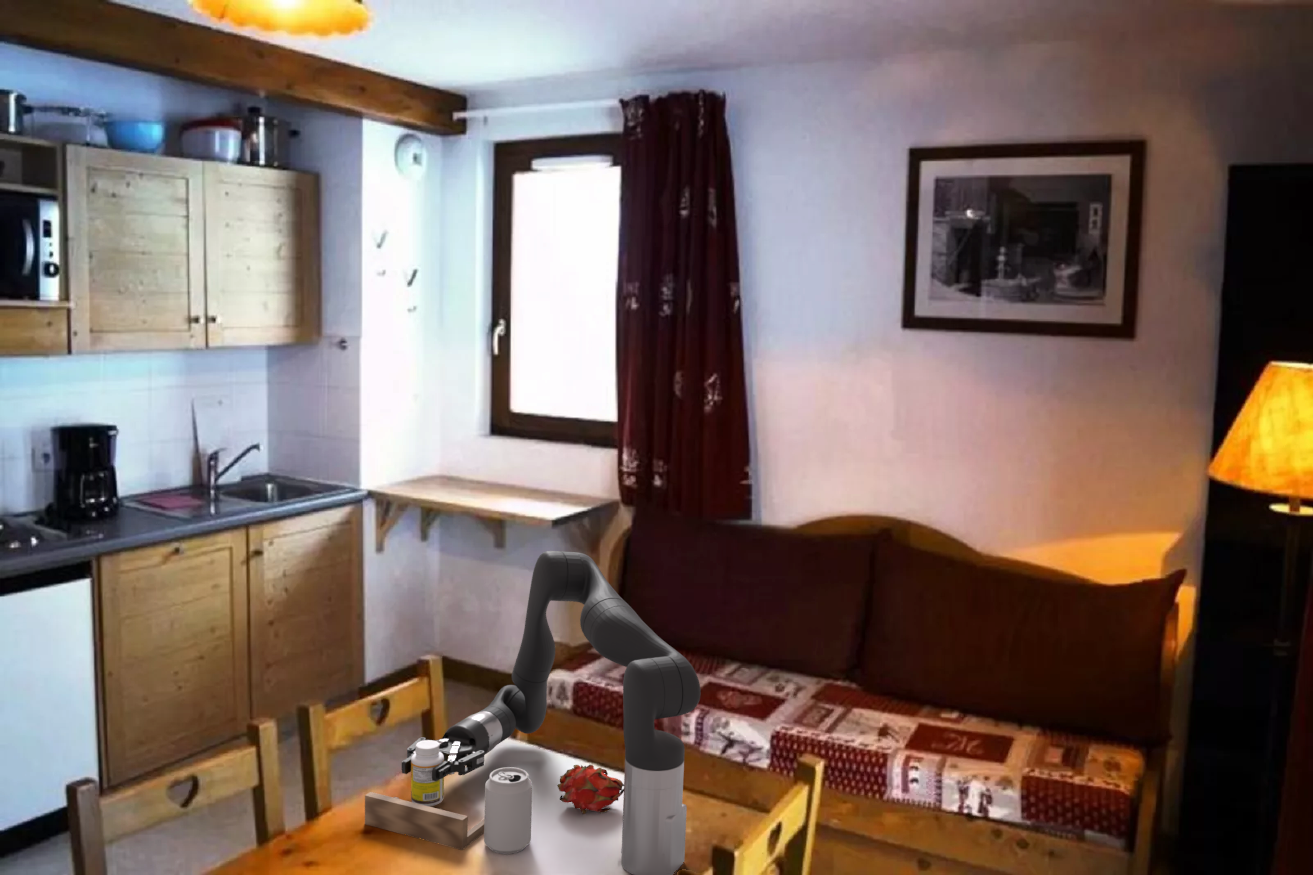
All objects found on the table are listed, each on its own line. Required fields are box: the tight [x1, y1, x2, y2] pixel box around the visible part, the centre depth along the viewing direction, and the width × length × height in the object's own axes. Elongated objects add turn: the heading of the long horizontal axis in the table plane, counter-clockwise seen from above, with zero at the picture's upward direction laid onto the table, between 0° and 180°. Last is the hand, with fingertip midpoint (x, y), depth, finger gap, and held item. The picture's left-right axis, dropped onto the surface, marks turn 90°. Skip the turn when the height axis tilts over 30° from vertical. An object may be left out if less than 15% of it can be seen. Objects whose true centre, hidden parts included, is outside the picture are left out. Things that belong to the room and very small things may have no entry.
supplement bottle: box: [410, 739, 445, 807], centre depth 189 cm, size 6×6×10 cm
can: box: [483, 766, 533, 855], centre depth 177 cm, size 8×8×12 cm
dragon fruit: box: [557, 764, 624, 815], centre depth 191 cm, size 8×8×12 cm
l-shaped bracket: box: [364, 791, 484, 851], centre depth 182 cm, size 19×8×5 cm, turn 67°
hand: (418, 771), depth 187 cm, fingers closed on supplement bottle, 5 cm apart
